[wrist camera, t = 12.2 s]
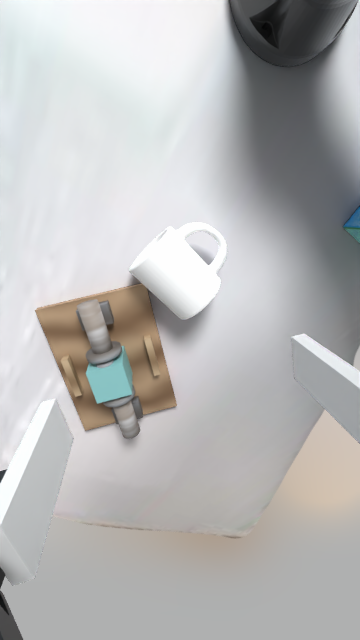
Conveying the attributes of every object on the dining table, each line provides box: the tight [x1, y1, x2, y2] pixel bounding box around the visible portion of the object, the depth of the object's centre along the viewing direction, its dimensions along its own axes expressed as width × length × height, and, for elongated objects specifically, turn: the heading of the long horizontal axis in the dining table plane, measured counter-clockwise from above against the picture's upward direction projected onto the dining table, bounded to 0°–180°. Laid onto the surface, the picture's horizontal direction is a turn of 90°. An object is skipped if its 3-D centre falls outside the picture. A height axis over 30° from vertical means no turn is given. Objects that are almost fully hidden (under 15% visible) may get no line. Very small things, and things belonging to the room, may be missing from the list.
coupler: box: [86, 346, 132, 404], centre depth 42 cm, size 6×5×6 cm
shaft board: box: [35, 283, 177, 439], centre depth 42 cm, size 22×16×7 cm
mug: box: [129, 222, 228, 320], centre depth 38 cm, size 12×10×8 cm
